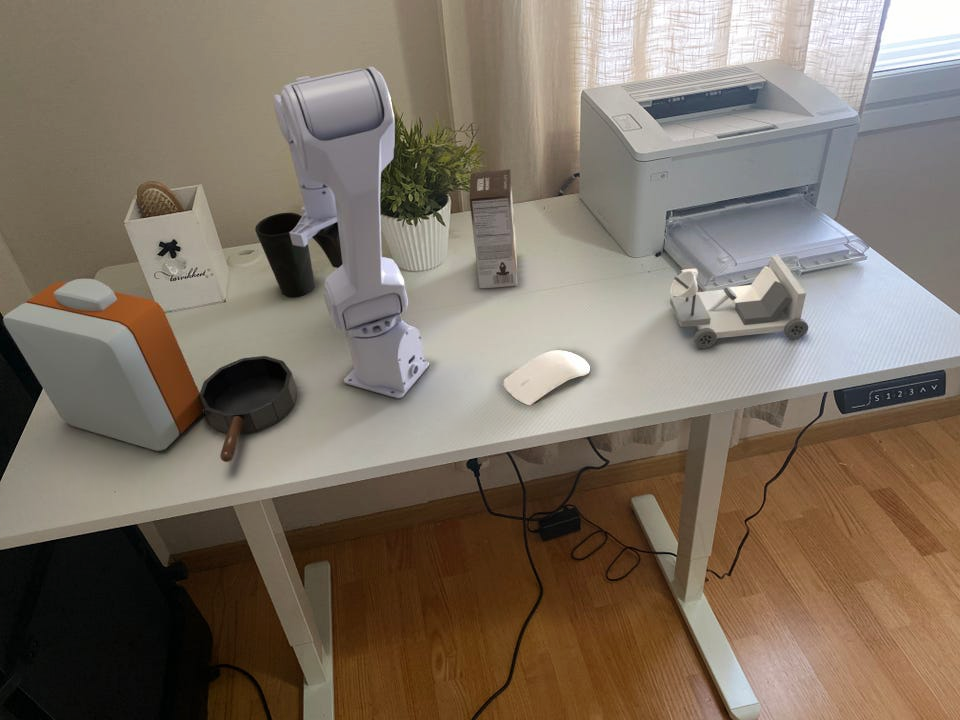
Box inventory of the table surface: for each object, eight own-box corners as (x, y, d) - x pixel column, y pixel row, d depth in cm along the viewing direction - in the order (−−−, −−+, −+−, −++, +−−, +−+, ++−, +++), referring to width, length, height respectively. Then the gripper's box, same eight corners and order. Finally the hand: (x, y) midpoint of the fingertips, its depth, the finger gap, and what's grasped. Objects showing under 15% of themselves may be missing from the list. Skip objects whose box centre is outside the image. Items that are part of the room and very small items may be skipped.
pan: (219, 380, 105) (211, 361, 103) (302, 371, 105) (296, 351, 103) (184, 481, 90) (173, 461, 88) (281, 471, 90) (273, 450, 88)
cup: (311, 301, 119) (292, 236, 112) (267, 300, 121) (246, 235, 113) (327, 276, 125) (311, 212, 118) (286, 275, 127) (267, 212, 119)
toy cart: (680, 292, 95) (658, 247, 104) (674, 351, 101) (654, 304, 110) (820, 277, 94) (786, 233, 103) (806, 338, 100) (775, 292, 110)
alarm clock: (210, 411, 100) (155, 283, 87) (165, 456, 94) (99, 325, 81) (110, 385, 107) (45, 263, 94) (62, 425, 100) (-14, 300, 88)
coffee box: (479, 260, 125) (469, 171, 115) (516, 257, 124) (510, 167, 114) (478, 289, 117) (468, 197, 107) (518, 287, 117) (512, 194, 107)
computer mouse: (497, 381, 99) (496, 368, 98) (568, 348, 104) (568, 335, 102) (525, 409, 94) (524, 395, 93) (599, 372, 99) (599, 359, 97)
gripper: (327, 155, 107) (346, 238, 115) (262, 199, 97) (288, 286, 105) (367, 161, 104) (384, 245, 112) (304, 206, 94) (328, 295, 103)
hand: (340, 265), depth 109 cm, fingers closed
